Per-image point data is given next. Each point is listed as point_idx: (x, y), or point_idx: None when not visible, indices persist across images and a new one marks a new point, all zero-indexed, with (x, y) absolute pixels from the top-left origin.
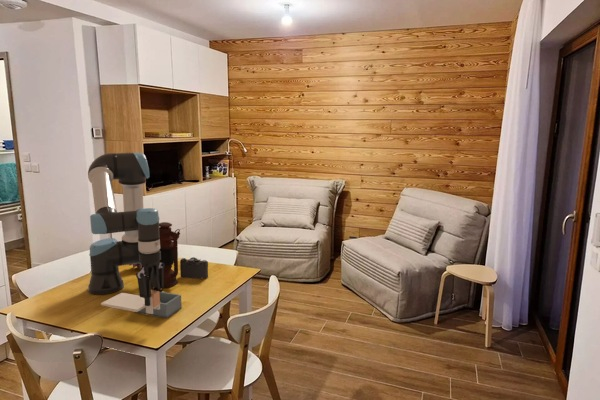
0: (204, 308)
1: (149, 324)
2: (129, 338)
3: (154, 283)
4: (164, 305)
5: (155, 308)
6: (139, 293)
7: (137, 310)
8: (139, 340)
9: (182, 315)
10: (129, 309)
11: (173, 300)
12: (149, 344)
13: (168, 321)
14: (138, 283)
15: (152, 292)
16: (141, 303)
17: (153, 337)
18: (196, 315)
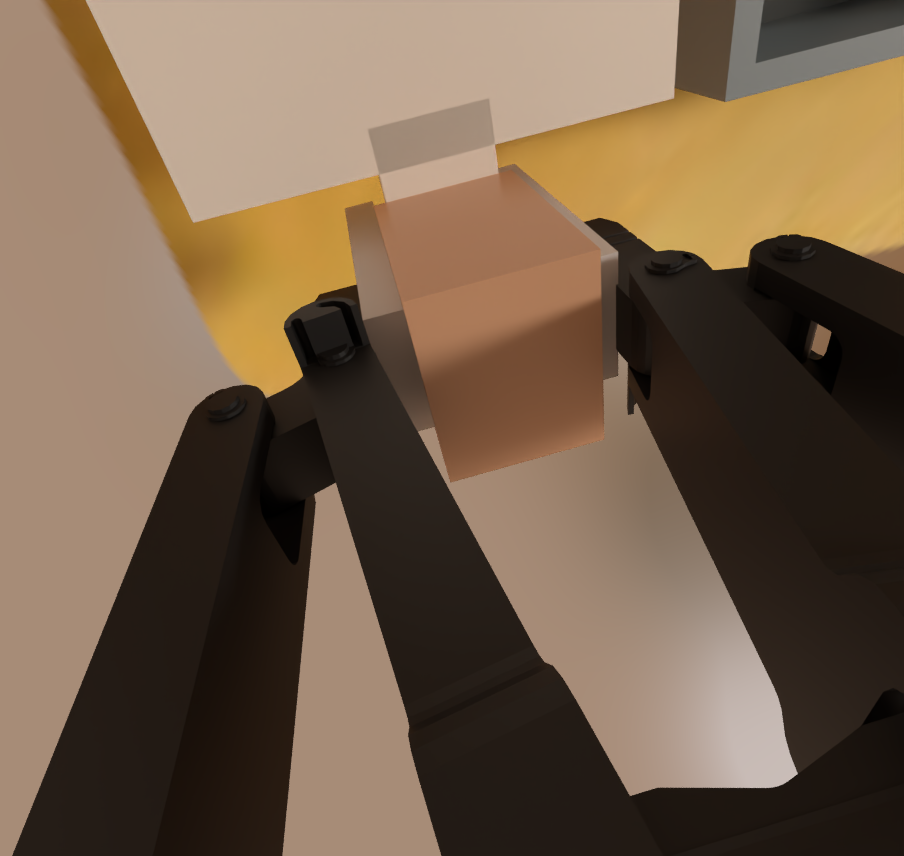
0: (890, 224)
1: None
2: (127, 108)
3: (695, 436)
4: (717, 67)
5: None
6: (171, 468)
7: (202, 214)
8: (192, 235)
9: (732, 164)
10: (105, 23)
11: (870, 61)
12: (225, 355)
13: (588, 149)
14: (57, 781)
15: (507, 395)
16: (389, 43)
17: (310, 290)
18: None
